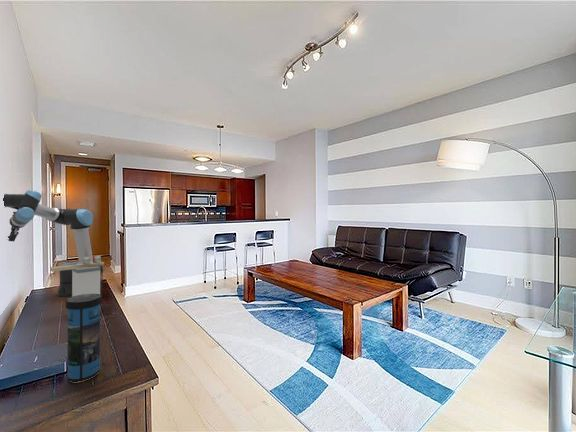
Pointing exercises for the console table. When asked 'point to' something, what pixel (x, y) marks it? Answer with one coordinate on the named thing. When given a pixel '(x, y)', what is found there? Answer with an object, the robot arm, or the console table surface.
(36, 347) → the console table surface
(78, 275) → the grey-banded white block
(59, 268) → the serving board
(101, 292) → the cola bottle
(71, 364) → the advertising column
